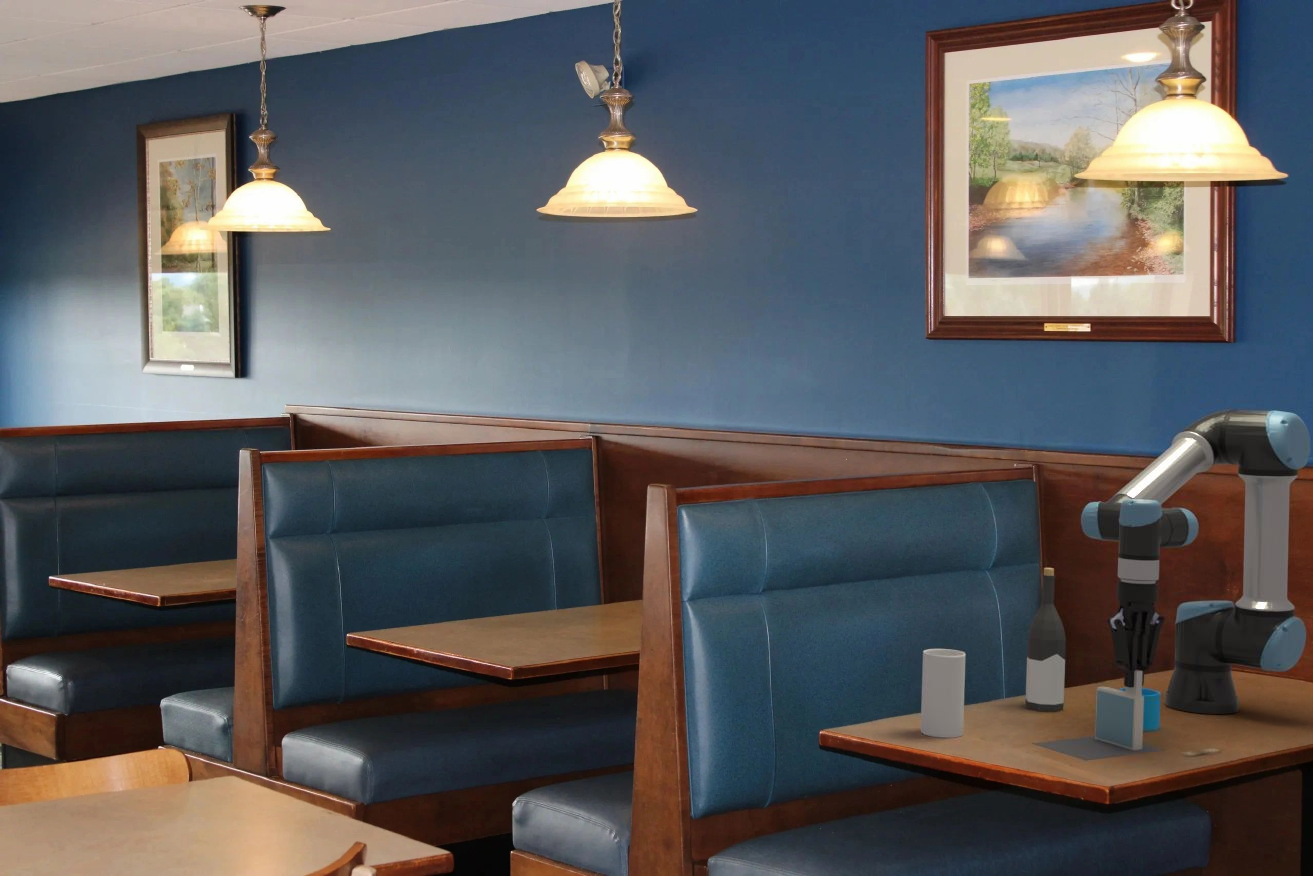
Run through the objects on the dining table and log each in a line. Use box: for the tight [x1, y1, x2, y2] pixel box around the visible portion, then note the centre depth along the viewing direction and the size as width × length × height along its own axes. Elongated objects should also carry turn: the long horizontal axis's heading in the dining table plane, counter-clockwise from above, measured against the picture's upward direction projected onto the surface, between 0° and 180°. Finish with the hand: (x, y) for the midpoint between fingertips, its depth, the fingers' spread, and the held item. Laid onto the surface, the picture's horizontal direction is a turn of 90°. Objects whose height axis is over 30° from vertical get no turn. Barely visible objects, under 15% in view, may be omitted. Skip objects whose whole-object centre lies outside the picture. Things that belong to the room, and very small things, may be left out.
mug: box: [1118, 687, 1162, 732], centre depth 315 cm, size 12×8×8 cm
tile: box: [1094, 686, 1144, 750], centre depth 297 cm, size 2×10×10 cm, turn 29°
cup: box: [920, 648, 966, 739], centre depth 308 cm, size 8×8×16 cm
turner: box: [1182, 748, 1222, 758], centre depth 289 cm, size 16×6×2 cm, turn 118°
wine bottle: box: [1025, 567, 1067, 713], centre depth 334 cm, size 8×8×30 cm
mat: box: [1032, 735, 1165, 761], centre depth 295 cm, size 20×14×1 cm
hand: (1133, 703), depth 298 cm, fingers closed
